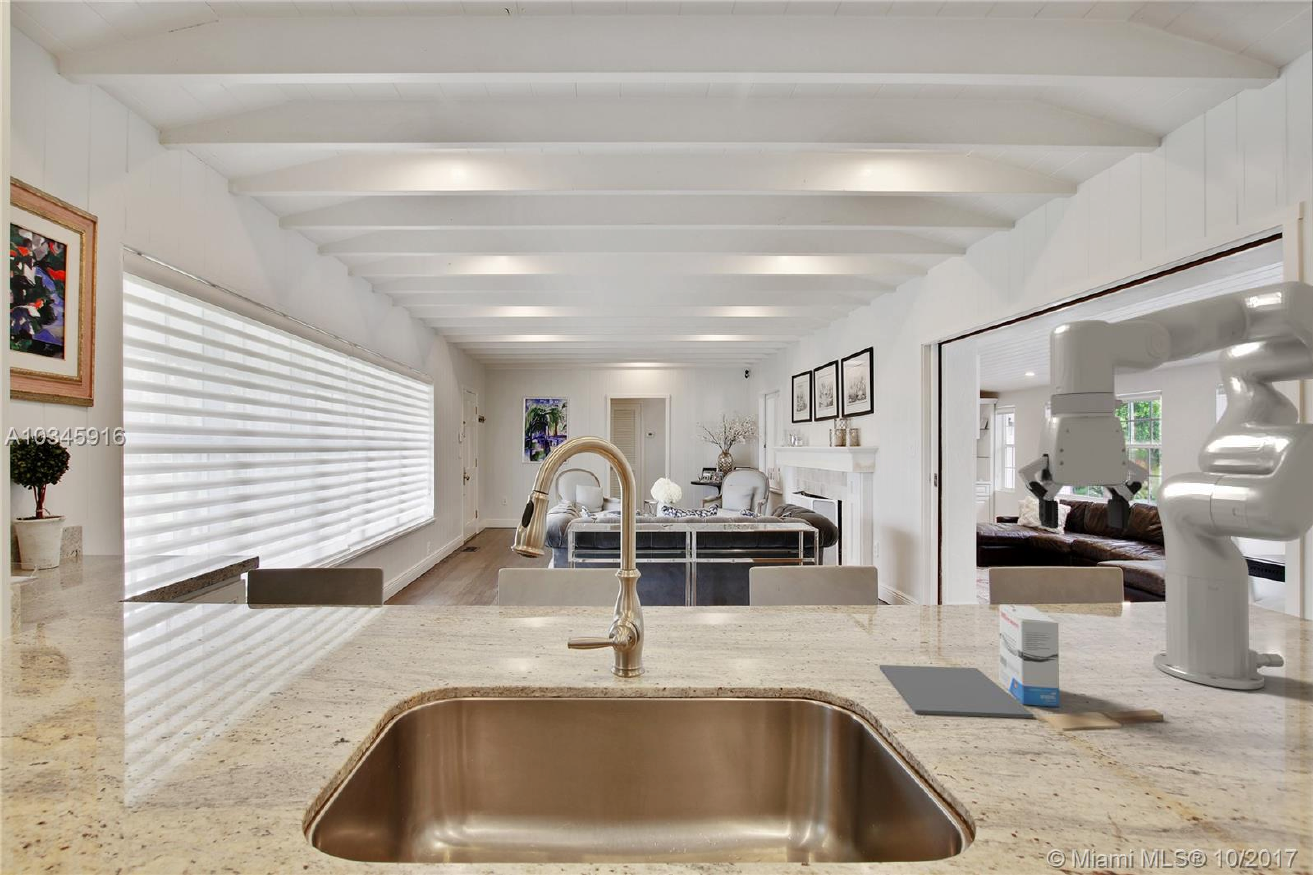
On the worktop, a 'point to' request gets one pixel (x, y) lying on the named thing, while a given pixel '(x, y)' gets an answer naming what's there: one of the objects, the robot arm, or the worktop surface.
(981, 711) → the mat
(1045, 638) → the ink box
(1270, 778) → the worktop surface
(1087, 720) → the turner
